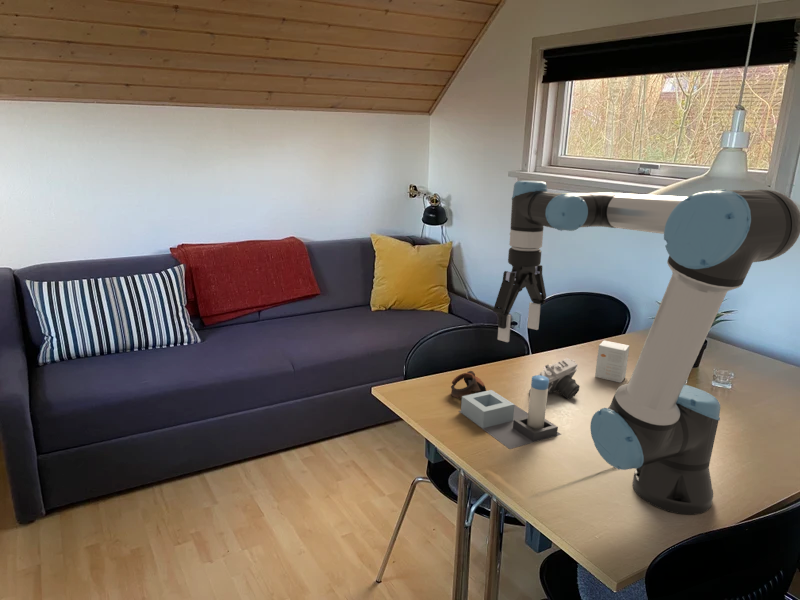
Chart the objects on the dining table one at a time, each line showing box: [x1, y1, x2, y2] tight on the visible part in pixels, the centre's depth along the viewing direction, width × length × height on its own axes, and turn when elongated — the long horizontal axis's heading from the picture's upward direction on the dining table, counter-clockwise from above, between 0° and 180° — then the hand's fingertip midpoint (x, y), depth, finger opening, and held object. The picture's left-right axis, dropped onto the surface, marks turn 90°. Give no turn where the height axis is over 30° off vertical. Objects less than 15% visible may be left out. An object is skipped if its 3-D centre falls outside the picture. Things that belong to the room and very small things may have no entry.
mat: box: [458, 404, 562, 450], centre depth 149 cm, size 21×16×1 cm
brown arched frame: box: [450, 370, 487, 399], centre depth 164 cm, size 12×10×8 cm
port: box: [460, 389, 516, 429], centre depth 151 cm, size 10×10×4 cm
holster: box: [513, 416, 559, 443], centre depth 144 cm, size 8×8×2 cm
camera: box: [528, 357, 581, 400], centre depth 166 cm, size 9×16×10 cm, turn 132°
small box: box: [594, 339, 630, 384], centre depth 180 cm, size 8×6×10 cm
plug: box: [527, 374, 549, 431], centre depth 143 cm, size 4×4×14 cm
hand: (518, 334), depth 144 cm, fingers open, 13 cm apart
